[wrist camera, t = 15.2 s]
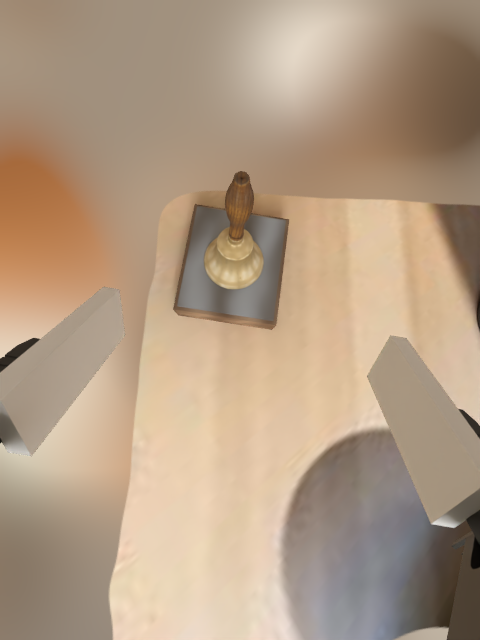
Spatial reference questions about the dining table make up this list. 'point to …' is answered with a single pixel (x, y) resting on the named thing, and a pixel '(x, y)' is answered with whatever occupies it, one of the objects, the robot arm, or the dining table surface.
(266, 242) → the walnut stand
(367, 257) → the dining table surface
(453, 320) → the dining table surface
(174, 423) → the dining table surface
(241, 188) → the hand bell
